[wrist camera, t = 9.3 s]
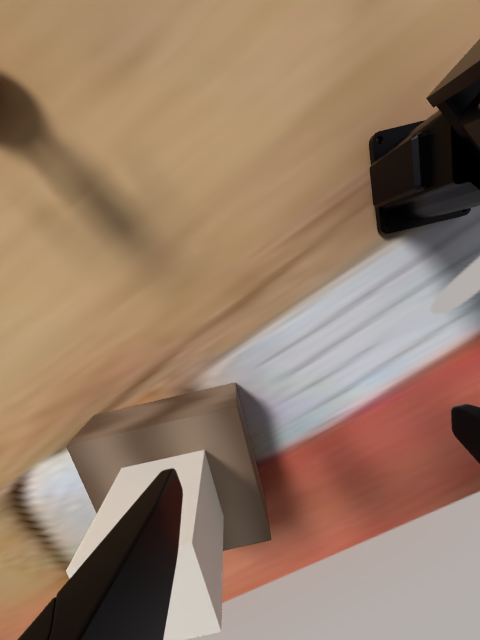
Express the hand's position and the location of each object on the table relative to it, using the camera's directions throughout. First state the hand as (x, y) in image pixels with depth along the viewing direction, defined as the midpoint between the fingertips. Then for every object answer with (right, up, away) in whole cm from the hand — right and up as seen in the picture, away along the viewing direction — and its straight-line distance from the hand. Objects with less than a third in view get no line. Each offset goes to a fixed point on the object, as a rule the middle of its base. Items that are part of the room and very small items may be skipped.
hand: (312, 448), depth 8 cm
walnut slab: (-7, -8, +14) cm, 18 cm away
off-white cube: (-7, -9, +10) cm, 15 cm away
